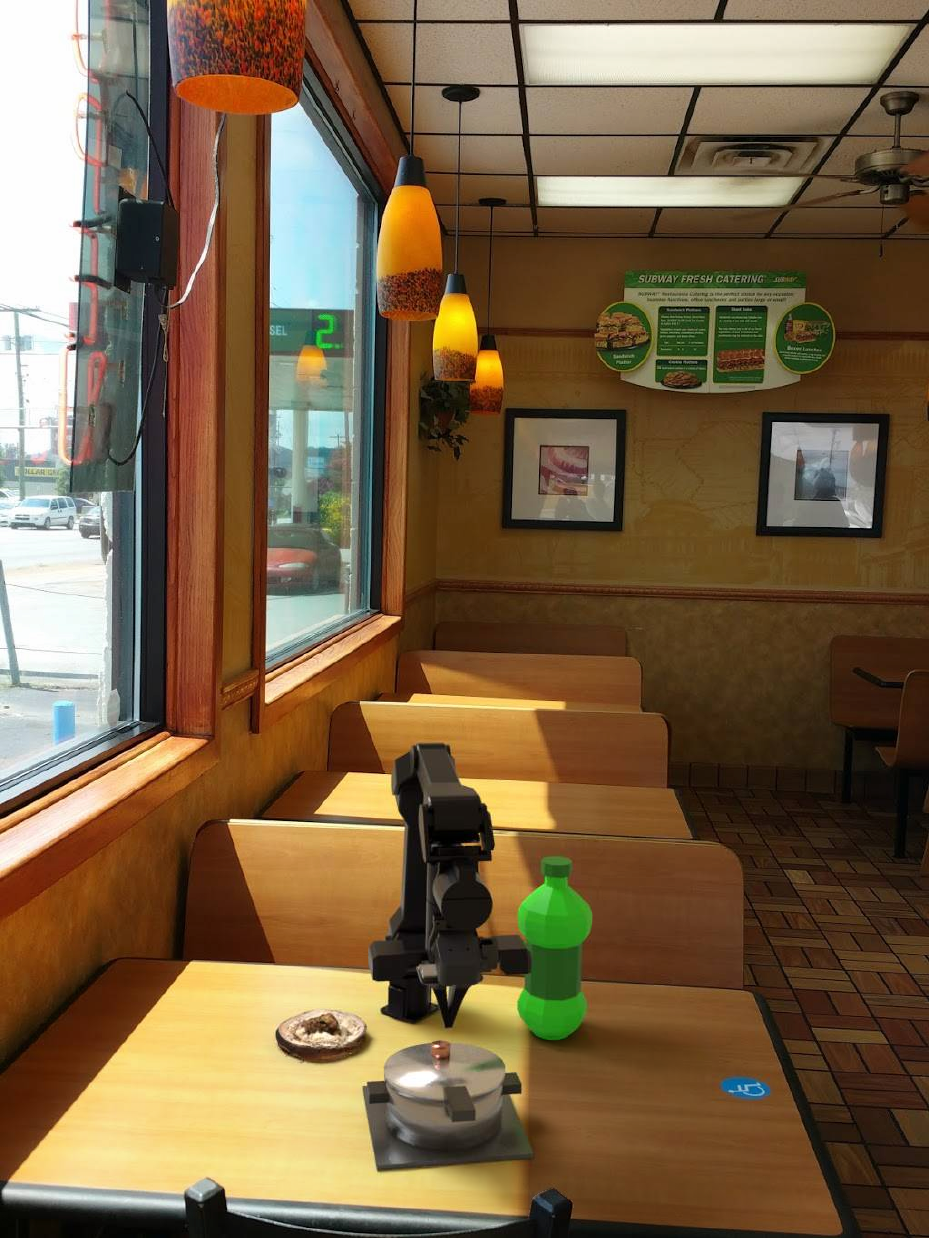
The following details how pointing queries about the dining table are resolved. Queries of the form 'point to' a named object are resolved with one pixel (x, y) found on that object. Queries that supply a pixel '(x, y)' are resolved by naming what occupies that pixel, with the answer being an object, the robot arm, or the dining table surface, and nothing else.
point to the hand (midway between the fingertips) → (447, 1026)
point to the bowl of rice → (321, 1035)
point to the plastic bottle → (554, 953)
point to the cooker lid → (445, 1075)
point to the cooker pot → (443, 1129)
